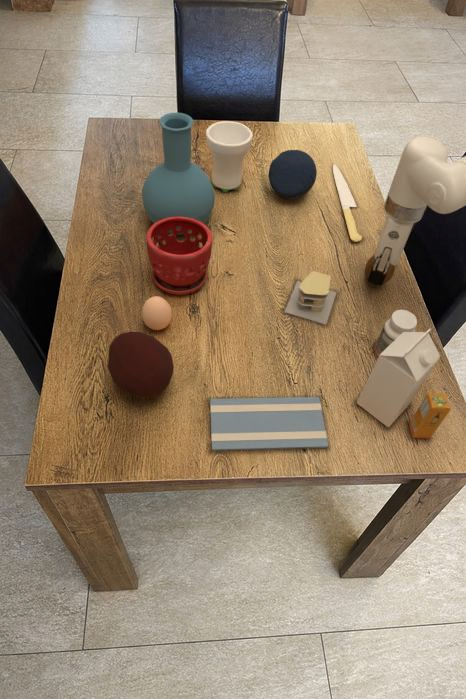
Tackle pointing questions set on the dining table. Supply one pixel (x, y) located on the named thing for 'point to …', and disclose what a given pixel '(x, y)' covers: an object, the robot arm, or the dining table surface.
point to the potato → (140, 364)
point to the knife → (346, 203)
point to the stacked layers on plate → (312, 298)
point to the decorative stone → (292, 174)
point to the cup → (228, 152)
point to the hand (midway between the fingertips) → (378, 272)
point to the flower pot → (179, 254)
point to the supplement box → (429, 415)
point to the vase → (177, 177)
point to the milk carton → (398, 376)
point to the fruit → (372, 262)
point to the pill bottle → (395, 329)
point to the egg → (156, 313)
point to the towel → (267, 423)
